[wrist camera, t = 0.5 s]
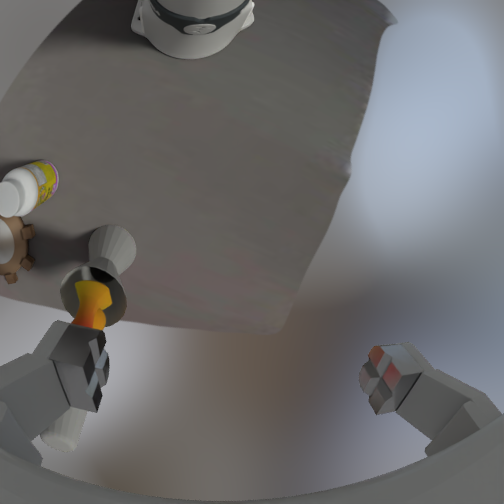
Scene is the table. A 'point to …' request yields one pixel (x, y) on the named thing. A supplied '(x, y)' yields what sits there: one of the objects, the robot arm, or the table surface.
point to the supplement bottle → (27, 188)
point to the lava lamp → (93, 309)
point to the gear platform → (14, 247)
